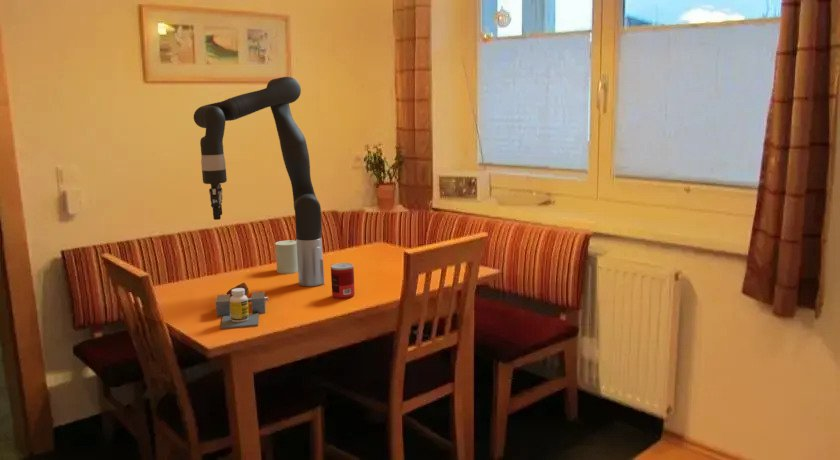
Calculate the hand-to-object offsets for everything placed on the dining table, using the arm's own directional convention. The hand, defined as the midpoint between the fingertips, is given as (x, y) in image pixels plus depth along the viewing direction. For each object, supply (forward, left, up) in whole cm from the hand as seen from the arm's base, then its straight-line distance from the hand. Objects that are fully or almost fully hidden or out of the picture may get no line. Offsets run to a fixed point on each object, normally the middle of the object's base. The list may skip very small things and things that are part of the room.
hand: (218, 217), depth 232 cm
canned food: (-40, +2, -30) cm, 50 cm away
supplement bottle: (-6, +21, -30) cm, 36 cm away
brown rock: (-4, -5, -30) cm, 31 cm away
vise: (-6, +9, -30) cm, 32 cm away
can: (-22, -40, -30) cm, 55 cm away
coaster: (-6, +21, -30) cm, 37 cm away
